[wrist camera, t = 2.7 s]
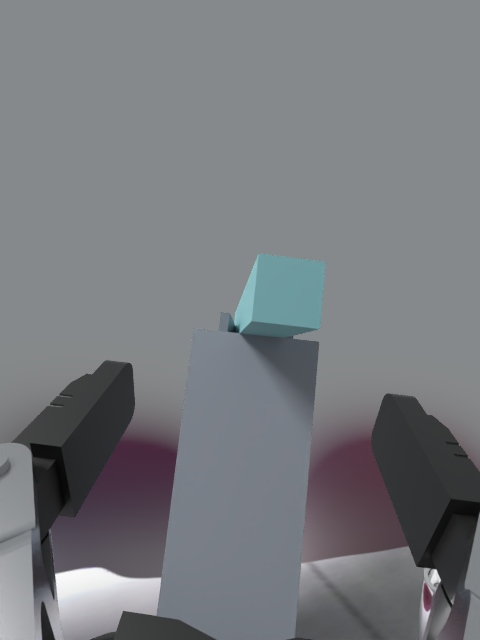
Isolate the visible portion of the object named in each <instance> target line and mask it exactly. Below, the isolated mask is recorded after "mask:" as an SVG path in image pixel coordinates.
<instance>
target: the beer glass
mask: <svg viewBox="0 0 480 640" xmlns="http://www.w3.org/2000/svg"><path fill="white" fill-rule="evenodd" d="M440 581H441V579H440V577H439V575H438V572H437V570H436V569H430V568H424V571H423V584H422V591H421V599H420V607H419V619H418V640H422V639H423V635H424V631H425V628H426V624H427V621H428V617H429V614H430V610H431V607H432V603H433V599H434V596H435V592H436V589H437V587H438V584H439V583H440Z"/></svg>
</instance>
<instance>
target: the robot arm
mask: <svg viewBox="0 0 480 640" xmlns="http://www.w3.org/2000/svg"><path fill="white" fill-rule="evenodd" d="M134 407H135V397H134V382H133V368H132V365H131V364H130V363H125V362H116V361H104V362H103V363H102V364H101V366H100V367H99V368H98V369H97V370H96V371H95V372H94V373H93V374H92V375H91V374H86V375H84V376H82V377H80V378H78V379H77V380H75V381H73V382H71V383H70V384H69V385H68V386H67V387H66V388H65V389H64V390H63V391H62V392H61V393H60V395H59V396H57V397H56V398H55V399H54V400H53V401H52V402H51V403H50V406H47V407H46V408H45V409H44V410H43V411H42V412H41V413H40V415H38V416H37V417H36V418H35V419H34V420H33V421H32V422H31V424H30V425H28V427H27V428H25V429H24V430H23V431H22V432H21V434H20V435H18V437H17V438H16V439H15V440H14V441H13V442H12V443H5V444H0V640H63V634H62V628H61V623H60V617H59V609H58V600H57V590H56V579H55V569H54V559H53V548H52V538H51V531H50V528H51V526H52V525H53V523H54V521H55V520H56V518H57V517H58V515H61V516H68V517H75V516H76V514H77V513H78V511H79V509H80V508H81V506H82V504H83V503H84V501H85V499H86V497H87V495H88V494H89V492H90V490H91V489H92V487H93V485H94V483H95V482H96V480H97V478H98V477H99V475H100V473H101V472H102V470H103V468H104V466H105V465H106V463H107V461H108V459H109V457H110V456H111V454H112V452H113V451H114V449H115V447H116V445H117V444H118V442H119V440H120V439H121V437H122V435H123V434H124V432H125V430H126V428H127V427H128V425H129V423H130V421H131V419H132V416H133V413H134ZM371 441H372V450H373V454H374V456H375V459H376V462H377V464H378V467H379V469H380V472H381V474H382V477H383V480H384V482H385V485H386V488H387V490H388V493H389V496H390V498H391V501H392V503H393V506H394V509H395V511H396V514H397V516H398V519H399V522H400V524H401V527H402V529H403V532H404V535H405V537H406V540H407V543H408V545H409V548H410V550H411V553H412V556H413V558H414V561H415V563H416V566H417V567H422V568H430V569H436V570H437V572H438V575H439V577H440V579H441V581H440V583H439V584H438V587H437V589H436V592H435V596H434V599H433V603H432V607H431V610H430V614H429V617H428V621H427V624H426V628H425V631H424V635H423V639H422V640H480V472H479V471H478V469H477V468H476V467H475V465H474V464H473V462H472V461H471V460H470V459H468V457H467V454H466V453H465V451H464V450H463V449H462V447H461V446H459V445H458V444H459V443H458V442H457V440H456V439H455V438H454V436H453V435H452V434H451V432H450V431H449V429H448V428H447V427H445V426H444V425H443V424H442V423H441V422H439V421H438V420H437V419H436V418H435V417H433V416H432V415H427V414H426V413H425V411H424V410H423V408H422V407H421V405H420V404H419V402H418V401H417V399H416V398H415V397H413V396H405V395H397V394H386V395H385V396H384V398H383V400H382V404H381V407H380V410H379V413H378V416H377V419H376V422H375V425H374V428H373V432H372V440H371ZM91 640H216V639H215V638H213V637H211V636H209V635H207V634H205V633H203V632H201V631H199V630H198V629H196V628H194V627H192V626H190V625H188V624H186V623H184V622H183V621H181V620H179V619H172V618H165V617H159V616H152V615H146V614H139V613H132V612H126V611H123V613H122V616H121V619H120V622H119V625H118V628H117V631H116V632H111V633H107V634H104V635H101V636H98V637H95V638H93V639H91ZM287 640H310V639H303V638H292V639H287Z"/></svg>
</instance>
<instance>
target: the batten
mask: <svg viewBox="0 0 480 640" xmlns="http://www.w3.org/2000/svg"><path fill="white" fill-rule="evenodd" d="M324 275H325V262H320V261H313V260H304V259H297V258H289V257H281V256H274V255H265V254H259V255H258V257H257V260H256V262H255V265H254V267H253V270H252V272H251V275H250V277H249V280H248V282H247V285H246V288H245V290H244V292H243V295H242V298H241V300H240V303H239V305H238V308H237V310H236V313H235V321H234V324H235V333H242V334H251V335H261V336H270V337H279V338H286V337H290V336H294V335H298V334H302V333H306V332H310V331H314V330H318V329H320V323H321V312H322V300H323V287H324Z"/></svg>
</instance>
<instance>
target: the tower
mask: <svg viewBox="0 0 480 640" xmlns="http://www.w3.org/2000/svg"><path fill="white" fill-rule="evenodd" d="M318 350H319V342H316V341H307V340H298V339H293V336H290V337H286V338H279V337H270V336H261V335H251V334H242V333H235V324H234V322H233V320H232V317H231V315H230V314H229V313H222V312H221V317H220V325H219V331H213V330H205V329H204V330H203V329H195V328H193V335H192V342H191V350H190V358H189V367H188V374H187V382H186V390H185V398H184V405H183V413H182V421H181V429H180V437H179V445H178V453H177V461H176V469H175V476H174V484H173V492H172V500H171V508H170V517H169V524H168V532H167V540H166V547H165V556H164V563H163V571H162V579H161V587H160V595H159V603H158V610H157V616H159V617H165V618H172V619H179V620H181V621H183V622H184V623H186V624H188V625H190V626H192V627H194V628H196V629H198V630H199V631H201V632H203V633H205V634H207V635H209V636H211V637H213V638H215V639H216V640H287V639H292V638H295V631H296V619H297V607H298V595H299V582H300V570H301V557H302V544H303V532H304V521H305V509H306V496H307V483H308V471H309V460H310V459H309V458H310V447H311V435H312V422H313V411H314V399H315V386H316V374H317V362H318Z"/></svg>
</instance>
